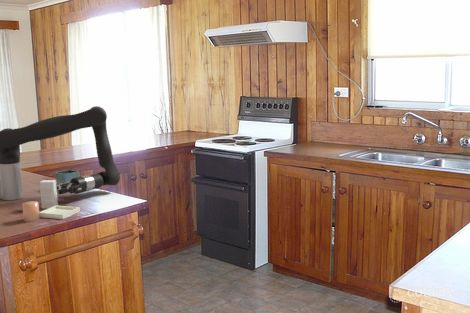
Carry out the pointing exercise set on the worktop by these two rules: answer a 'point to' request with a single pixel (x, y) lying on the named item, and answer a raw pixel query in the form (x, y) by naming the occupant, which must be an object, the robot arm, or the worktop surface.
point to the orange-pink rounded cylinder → (31, 211)
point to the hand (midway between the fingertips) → (52, 190)
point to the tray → (59, 212)
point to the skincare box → (48, 193)
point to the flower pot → (66, 176)
